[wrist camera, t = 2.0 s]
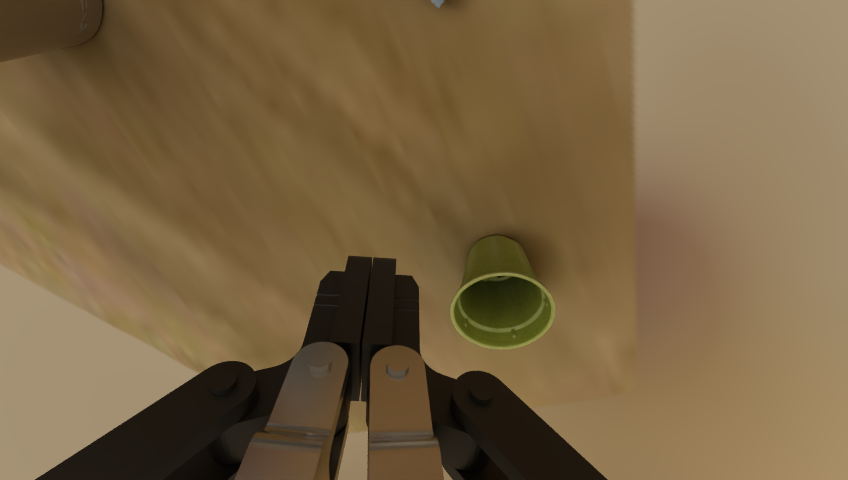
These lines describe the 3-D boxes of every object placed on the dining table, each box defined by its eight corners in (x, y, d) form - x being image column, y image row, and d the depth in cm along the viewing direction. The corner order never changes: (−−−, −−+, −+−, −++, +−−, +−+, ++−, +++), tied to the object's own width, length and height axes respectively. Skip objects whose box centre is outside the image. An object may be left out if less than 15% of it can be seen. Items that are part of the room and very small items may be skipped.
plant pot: (468, 300, 49) (470, 358, 42) (438, 236, 45) (434, 290, 37) (549, 278, 47) (565, 337, 40) (525, 208, 42) (540, 260, 35)
